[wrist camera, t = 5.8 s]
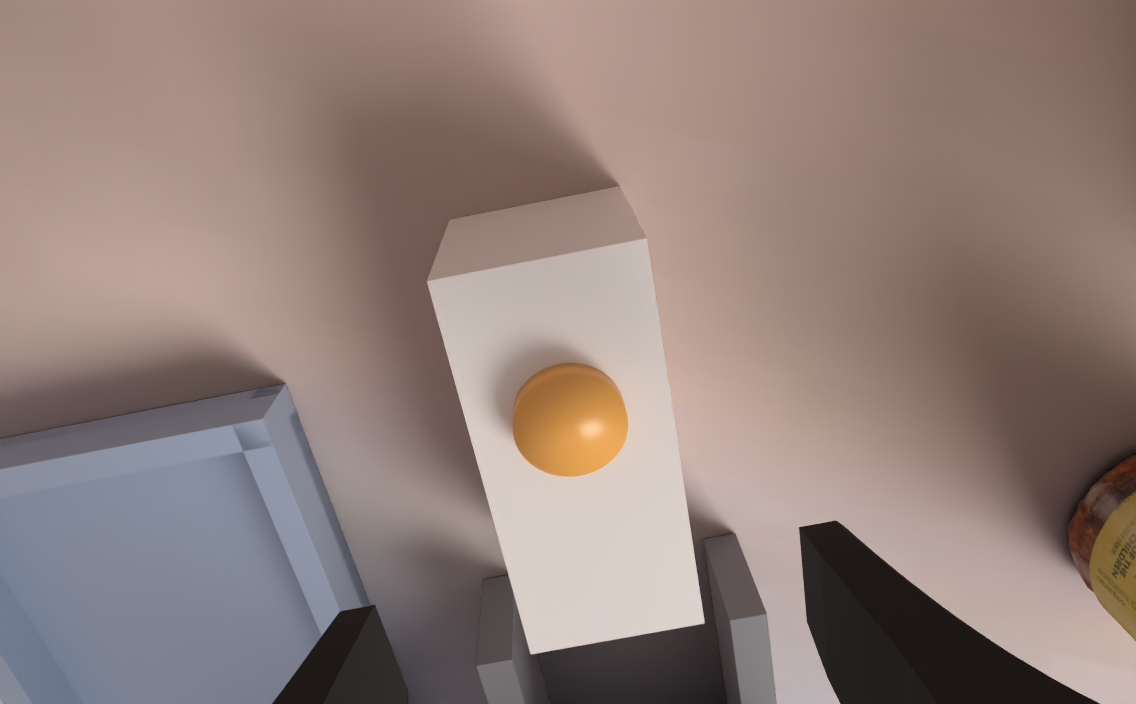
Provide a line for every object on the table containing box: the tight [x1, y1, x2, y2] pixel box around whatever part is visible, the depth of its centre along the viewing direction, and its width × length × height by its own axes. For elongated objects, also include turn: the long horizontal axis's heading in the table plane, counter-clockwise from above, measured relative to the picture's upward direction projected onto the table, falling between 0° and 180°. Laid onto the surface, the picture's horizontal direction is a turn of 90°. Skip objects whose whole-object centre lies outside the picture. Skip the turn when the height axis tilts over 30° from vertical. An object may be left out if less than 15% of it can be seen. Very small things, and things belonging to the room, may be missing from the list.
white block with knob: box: [427, 186, 705, 654], centre depth 19 cm, size 10×4×6 cm, turn 11°
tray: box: [0, 384, 408, 704], centre depth 24 cm, size 16×11×2 cm
